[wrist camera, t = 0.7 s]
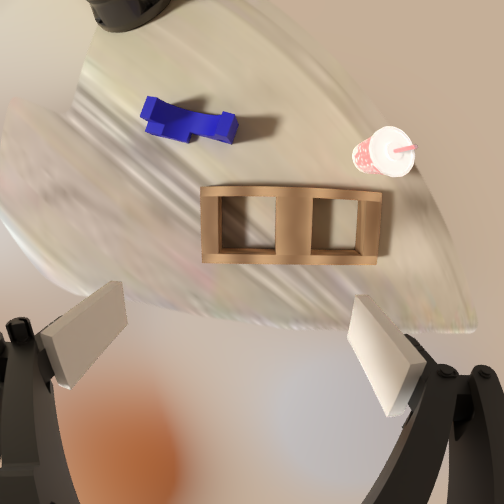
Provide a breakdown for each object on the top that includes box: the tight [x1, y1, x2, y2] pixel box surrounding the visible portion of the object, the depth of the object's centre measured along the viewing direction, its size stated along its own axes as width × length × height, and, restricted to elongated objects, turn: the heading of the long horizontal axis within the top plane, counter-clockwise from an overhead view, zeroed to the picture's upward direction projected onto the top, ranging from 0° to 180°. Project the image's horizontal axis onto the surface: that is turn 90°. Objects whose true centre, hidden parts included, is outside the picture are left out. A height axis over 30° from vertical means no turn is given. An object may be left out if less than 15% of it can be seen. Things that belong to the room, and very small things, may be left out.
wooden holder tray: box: [200, 186, 382, 265], centre depth 36 cm, size 24×10×4 cm, turn 90°
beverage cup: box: [352, 126, 418, 177], centre depth 28 cm, size 6×6×14 cm
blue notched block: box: [140, 96, 239, 144], centre depth 32 cm, size 12×4×6 cm, turn 72°
